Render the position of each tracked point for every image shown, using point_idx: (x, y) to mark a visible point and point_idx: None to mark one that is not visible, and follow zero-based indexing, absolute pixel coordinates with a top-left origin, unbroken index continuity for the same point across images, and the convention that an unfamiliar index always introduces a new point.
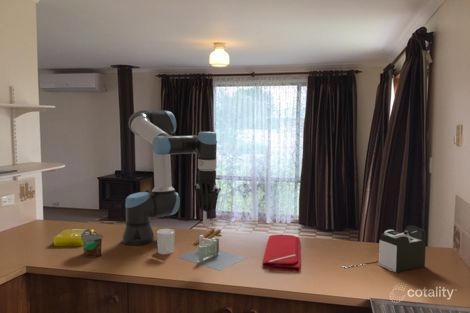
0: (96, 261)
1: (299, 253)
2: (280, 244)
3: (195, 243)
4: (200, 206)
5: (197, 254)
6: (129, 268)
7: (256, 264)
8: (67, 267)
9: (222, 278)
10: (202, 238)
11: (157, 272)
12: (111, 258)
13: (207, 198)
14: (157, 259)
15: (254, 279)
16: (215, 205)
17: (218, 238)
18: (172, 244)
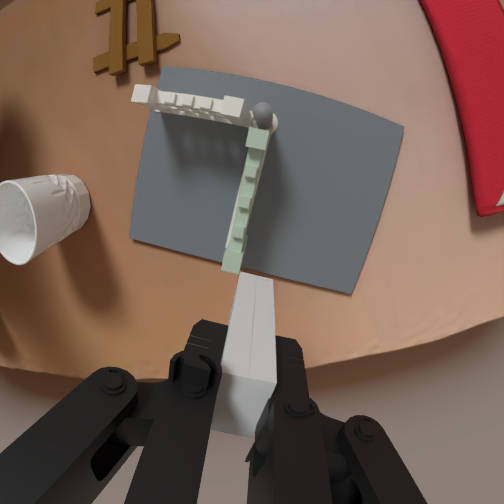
0: (11, 327)
1: None
2: (472, 10)
3: (116, 71)
4: (137, 445)
5: (184, 171)
6: (83, 348)
7: (447, 174)
8: (12, 363)
9: (369, 328)
10: (154, 98)
11: (158, 355)
12: (12, 303)
13: None
14: (86, 269)
15: (454, 295)
16: (396, 475)
17: (268, 106)
18: (70, 210)
